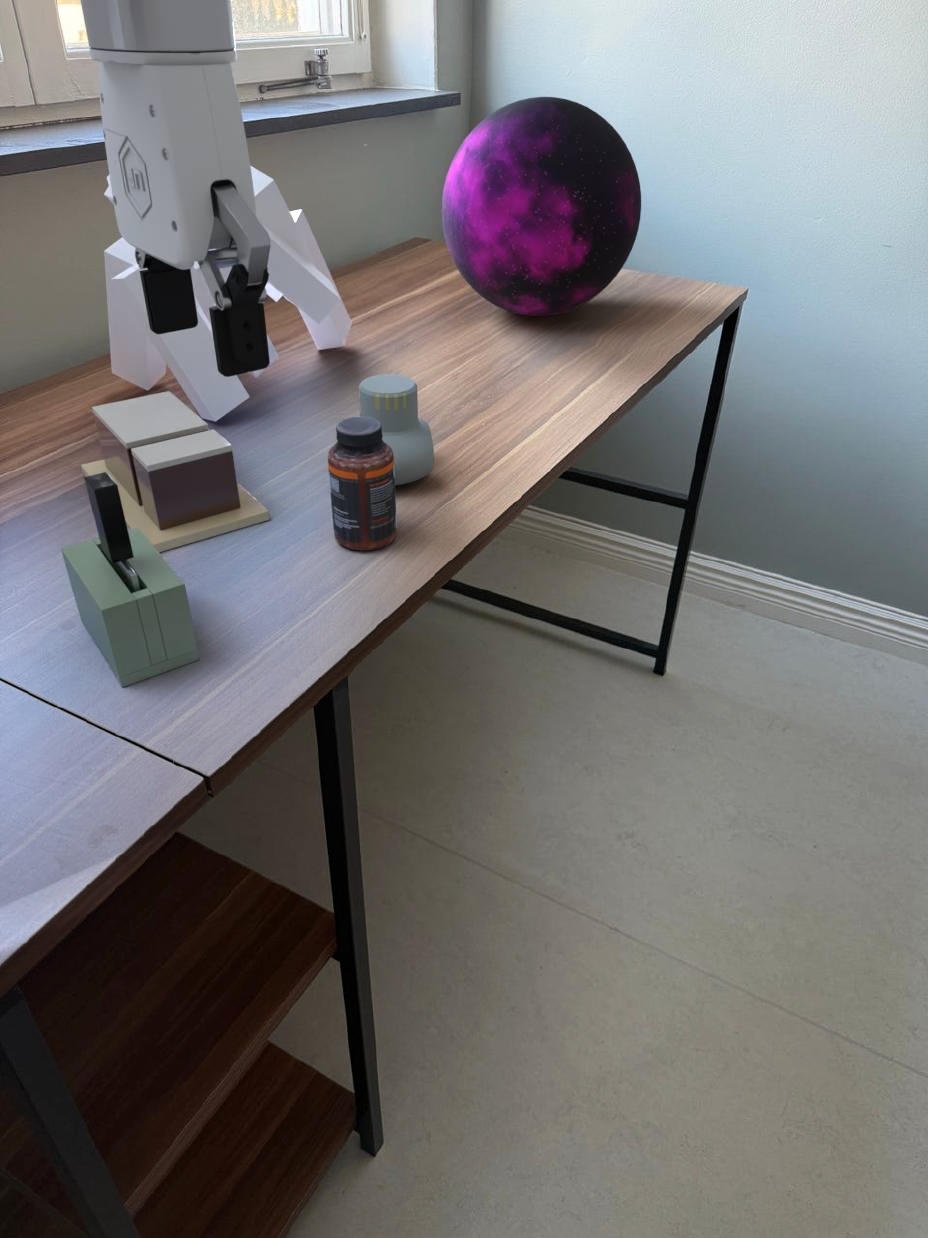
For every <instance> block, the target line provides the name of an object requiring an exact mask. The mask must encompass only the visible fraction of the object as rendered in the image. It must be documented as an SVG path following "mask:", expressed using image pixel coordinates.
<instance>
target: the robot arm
mask: <svg viewBox="0 0 928 1238" xmlns="http://www.w3.org/2000/svg"><path fill="white" fill-rule="evenodd" d="M80 4H81V10H82V15H83V21H84V26H85V27H84V28H85V31H86V32H85V33H86V37H87V42H88V47H89V53H90V59H91V60H92V61H97V73H98V75H97V76H98V90H99V91H98V92H99V105H100V113H101V115H100V116H101V124H102V131H103V140H104V147H105V153H106V160H107V168H108V175H110V182H111V189H112V195H113V202H114V204H113V207H114V214H115V220H116V224H117V225H116V226H117V229H118V232H119V234H120V236H121V238H122V237H123V238H124V240H125V241H127V242H128V243H129V244H130V245H132V246H134V247H135V259H136V262H137V265H138V266H139V268H140V269H146V268H147V269H148V270H142V271H140V276H141V282H142V287H143V293H144V298H145V304H146V309H147V315H148V320H149V326H150V329H151V331H153V332H154V333H156V334H164V333H169V332H174V331H180V330H185V329H190V328H194V327H196V326H197V325H198V317H197V311H196V304H195V297H194V291H193V284H192V277H191V271H190V268H192V267H193V265H194V262H195V261H197V262H198V264H199V267H200V269H201V271H202V274H203V276H204V278H205V281H206V283H207V285H208V288H209V290H210V292H211V295H212V297H213V299H214V302H215V304H216V306H215V307H210V308H209V312H210V319H211V326H212V333H213V340H214V347H215V354H216V361H217V368H218V372H219V373H220V374H222V375H223V376H225V377H230V376H234V375H237V376H239V375H242V374H247V373H248V372H252V371H256V370H261V369H265V368H266V369H268V368H269V367H270V366H269V363H270V360H269V350H268V341H267V334H268V332H267V322H266V313H265V305H264V304H265V303H266V302H267V298H268V297H267V296H268V295H267V293H266V289H265V286H266V284H267V282H268V277H269V273H268V270H267V269H268V268H267V264H268V258H269V252H270V237H269V234H268V233H267V231H266V230H265V228H264V227H263V226H262V224H261V223H260V222H259V220H258V219H257V217H256V206H255V197H254V189H253V181H252V174H251V167H250V166H251V162H250V154H249V148H248V141H247V137H246V131H245V124H244V120H243V113H242V109H241V108H242V107H241V103H240V98H239V94H238V88H237V84H236V80H235V75H234V72H233V71H234V70H233V67H232V63H235V62H238V56H237V55H238V54H237V49H236V46H237V45H236V37H235V28H234V27H235V26H234V17H233V8H232V0H80ZM211 249H217V250H211ZM209 250H211V251H209ZM226 267H232V268H231V271H230V273H229V276H228V278H227V281H226V283H225V281H224V279H223V276H222V274H221V272H220V268H226ZM268 366H269V367H268ZM267 367H268V368H267ZM266 369H265V370H266Z"/></svg>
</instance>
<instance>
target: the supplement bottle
mask: <svg viewBox="0 0 928 1238" xmlns="http://www.w3.org/2000/svg"><path fill="white" fill-rule="evenodd" d="M335 434H336V436H335V437H336V443H334V444H333V445H332V446H331V447H330V449H329V450H328V453H327V469H328V480H329V481H328V483H329V491H330V492H329V493H330V504H331V515H332V529H333V533H334V535H333V536H334V539H335V540H336V541H337V543H338V544H339V545H341V546H343V547H345V548H347V549H350V550H355V551H373V550H378V549H380V548H383V547H385V546H387V545H389V544H391V543H392V542H393V541H394V540H395V538H396V536H397V531H398V530H397V527H398V523H397V500H396V499H397V498H396V485H395V472H394V455H393V451H392V449H391V447H390V446H389V445H388V444H387V443H385V442H384V441H383V440H382V438H383V435H382V426H381V423H380V422H379V421H378V420H376V419H374V418H370V417H360V416H350V417H346V418H344V419H341V420H340V421H339V422H338V423H337V424H336V426H335Z"/></svg>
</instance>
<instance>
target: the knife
mask: <svg viewBox="0 0 928 1238" xmlns="http://www.w3.org/2000/svg"><path fill="white" fill-rule="evenodd" d="M83 479H84V483H85V487H86V491H87V496H88V499H89V503H90V507H91V510H92V515H93V519H94V522H95V526H96V530H97V534H98V538H100V542H101V546H102V550H103V551H104V552H105V554H106V557H107V561H108V562H109V563H110V565H111V566H112V568H113V569H114V570H115V572H116V573H117V574H118V576H119V577H120V579H121V580H122V581H123V583H124V584H125V586H126V587H127V588H128V590H129V591H130V592H131V594H132V593H134V592H137V591H140V586H139V581H138V577H137V574H136V573H135V571H134V570H133V569H132V567H131V566H130V565H129V563H128V562H127V561H126V560H127V559H130V558H133V557H134V555H133V551H132V546H131V542H130V538H129V533H128V529H127V525H126V520H125V516H124V512H123V507H122V503H121V499H120V494H119V490H118V486H117V484H116V483H115V481H114V480H113V479H112V478H111V477H110V476H109V474H108V473H107V472H103V473H99V474H95V475H91V476H87V477H86V476H84V478H83Z"/></svg>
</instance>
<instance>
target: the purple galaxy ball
mask: <svg viewBox="0 0 928 1238" xmlns="http://www.w3.org/2000/svg"><path fill="white" fill-rule="evenodd" d="M441 198H442V199H441V223H442V230H443V235H444V239H445V244H446V246H447V250H448V253H449V254H450V257H451V259H452V262H453V263H454V266H455V267H456V269H457V270H458V272H459V274H460V275H461V277H462V278H463V279H464V280H465V282H466V283H467V284H468V285H469V286H470V287H471V289H473V291H475V292H476V293H477V294H478V295H479V296H480V297H482V298H483V299H484V300H486V301H487V302H489V303H490V304H492V305H493V306H496V307H498V308H500V309H502V310H505V311H507V312H510V313H513V314H517V315H522V316H530V317H546V316H547V317H548V316H555V315H559V314H562V313H565V312H569V311H572V310H574V309H577V308H579V307H581V306H583V305H585V304H586V303H588V302H590V301H591V300H593V299H594V298H595V297H597V296H598V295H600V293H602V292H603V291H604V290H605V289H607V287H608V286H609V285H610V284H611V283H612V282H613V281H614V279H616V277H617V276H618V274H619V273H620V272H621V270H622V269H623V267H624V265H626V262H627V260H628V259H629V256H630V254H631V253H632V250H633V248H634V245H635V242H636V240H637V235H638V232H639V227H640V224H641V223H640V222H641V216H642V215H641V214H642V189H641V182H640V177H639V172H638V170H637V166H636V163H635V160H634V158H633V156H632V154H631V151H630V150H629V148H628V146H627V144H626V142H625V141H624V139H623V138H622V136H621V135H620V134H619V132H618V131H617V130H616V128H614V127H613V125H612V124H611V123H610V122H609V121H607V119H605V117H603V116H601V114H599V113H598V112H596V111H595V110H593V109H591V108H590V107H588V106H586V105H584V104H581V103H579V102H578V101H577V102H576V101H574V100H570V99H568V98H567V99H566V98H563V97H562V98H561V97H557V96H535V97H528V98H524V99H519V100H517V101H514V102H511V103H509V104H506V105H504V106H502V107H500V108H498V109H496V110H495V111H493V112H492V113H490V114H489V115H488V116H486V117H484V118H483V119H482V120H481V121H480V122H479V123H478V124H477V125H476V126H475V127H474V128H473V129H472V130H471V131H470V132H469V133H468V135H467V136H466V137H465V139H464V140H463V141H462V143H461V144H460V146H459V147H458V149H457V150H456V153H455V154H454V157H453V159H452V161H451V163H450V165H449V168H448V170H447V173H446V177H445V181H444V185H443V191H442V197H441Z"/></svg>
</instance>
